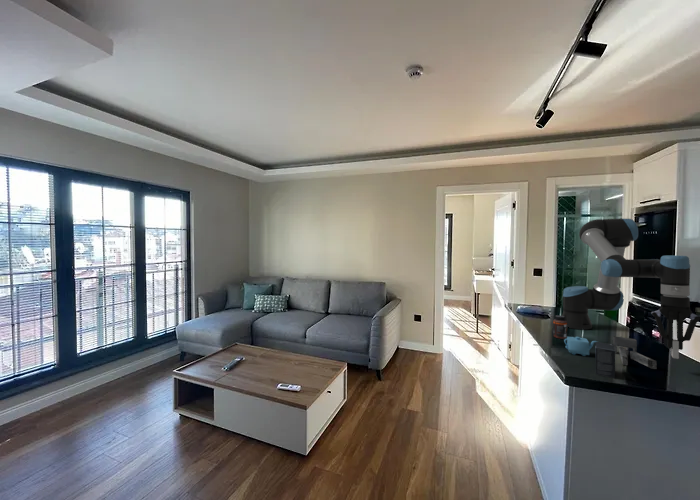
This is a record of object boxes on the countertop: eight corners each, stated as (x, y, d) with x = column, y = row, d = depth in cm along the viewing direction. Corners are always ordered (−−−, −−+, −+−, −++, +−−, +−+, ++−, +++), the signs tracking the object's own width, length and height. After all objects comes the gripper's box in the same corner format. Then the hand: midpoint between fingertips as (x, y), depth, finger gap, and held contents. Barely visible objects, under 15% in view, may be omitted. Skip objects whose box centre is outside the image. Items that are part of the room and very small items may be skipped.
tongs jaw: (629, 358, 127) (629, 350, 127) (633, 358, 126) (633, 351, 126) (652, 369, 116) (652, 361, 116) (656, 369, 116) (656, 361, 115)
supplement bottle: (569, 339, 152) (569, 317, 152) (556, 339, 153) (556, 317, 153) (563, 336, 158) (563, 314, 158) (551, 335, 159) (551, 314, 159)
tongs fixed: (619, 354, 132) (619, 346, 132) (627, 355, 130) (627, 348, 130) (622, 365, 120) (622, 357, 120) (632, 366, 118) (632, 358, 118)
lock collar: (613, 351, 135) (613, 336, 135) (635, 354, 130) (635, 339, 130) (614, 353, 132) (614, 338, 132) (636, 356, 128) (636, 341, 128)
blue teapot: (596, 353, 133) (596, 337, 132) (599, 358, 127) (599, 341, 127) (563, 349, 139) (563, 333, 138) (565, 353, 133) (564, 337, 133)
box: (595, 367, 118) (595, 341, 118) (614, 371, 115) (614, 344, 114) (595, 374, 112) (595, 346, 112) (615, 378, 109) (615, 350, 108)
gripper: (652, 295, 114) (652, 356, 115) (704, 298, 106) (704, 364, 106) (649, 293, 120) (649, 351, 120) (697, 296, 112) (697, 358, 112)
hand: (675, 357), depth 113 cm, fingers closed
